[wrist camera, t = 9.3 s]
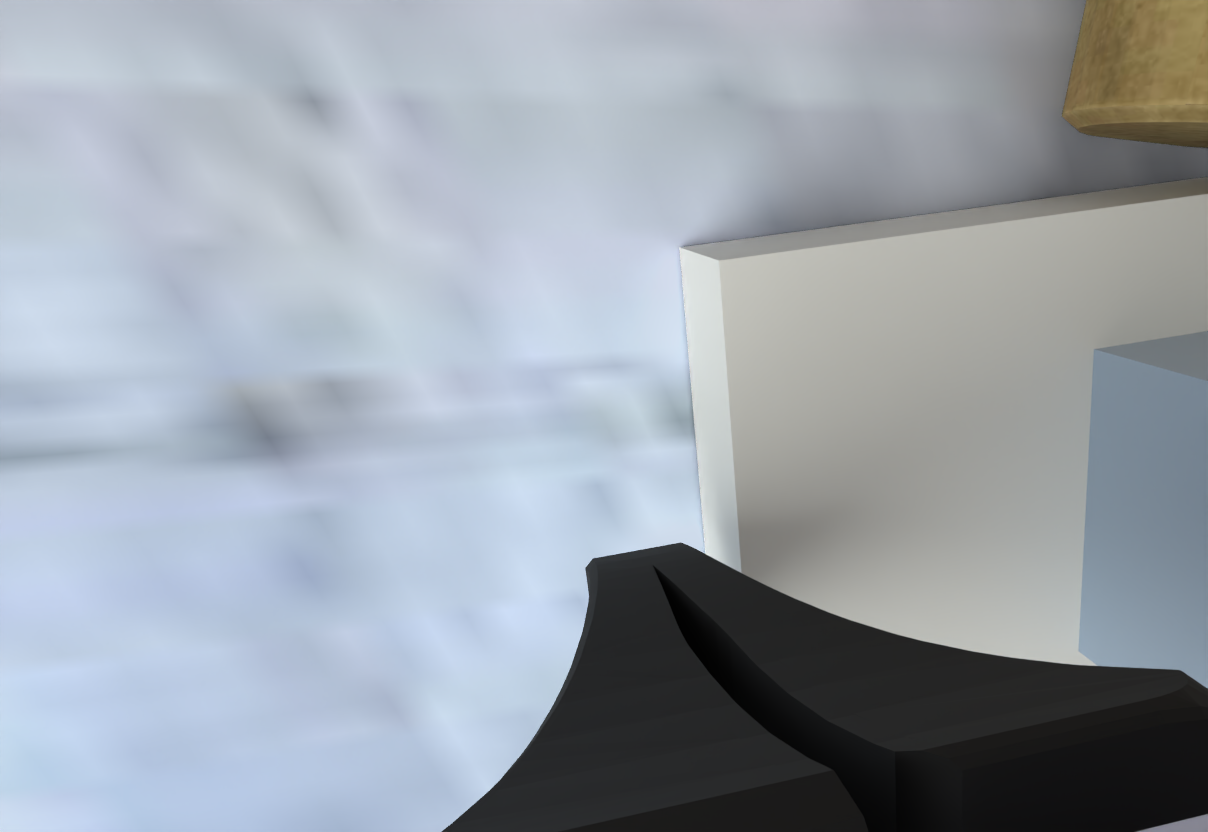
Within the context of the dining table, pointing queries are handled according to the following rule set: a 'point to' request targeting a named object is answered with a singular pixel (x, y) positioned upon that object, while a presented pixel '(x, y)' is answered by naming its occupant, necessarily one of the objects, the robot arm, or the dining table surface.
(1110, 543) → the tile slate
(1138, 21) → the gavel
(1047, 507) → the board
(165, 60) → the dining table surface
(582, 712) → the robot arm
